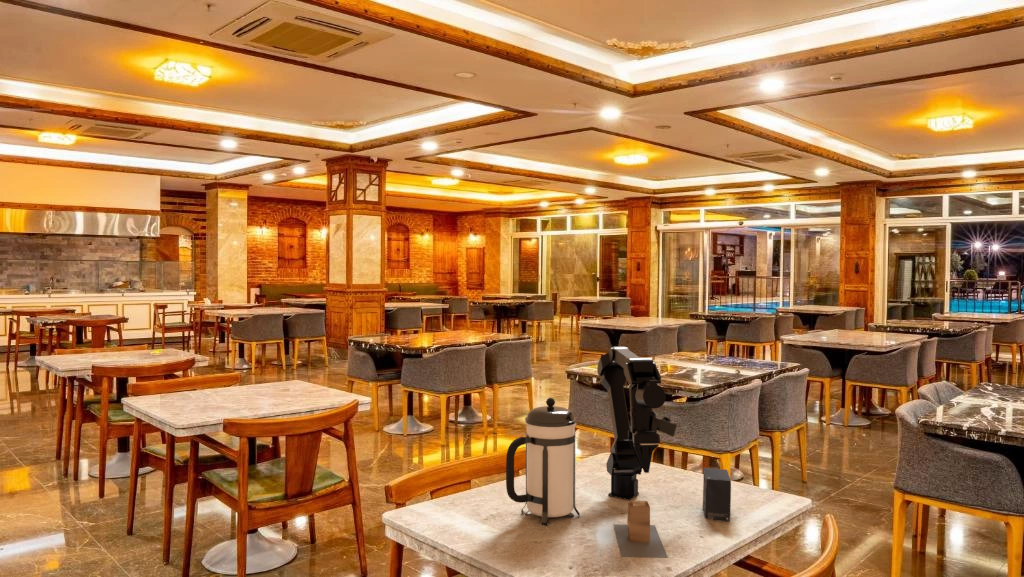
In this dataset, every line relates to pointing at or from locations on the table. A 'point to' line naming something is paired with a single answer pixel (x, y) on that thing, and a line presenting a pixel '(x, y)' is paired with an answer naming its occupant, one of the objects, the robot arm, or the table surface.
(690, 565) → the table surface
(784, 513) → the table surface
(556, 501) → the coffee press
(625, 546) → the mat
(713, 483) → the small box
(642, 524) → the brown rectangular block
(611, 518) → the table surface
